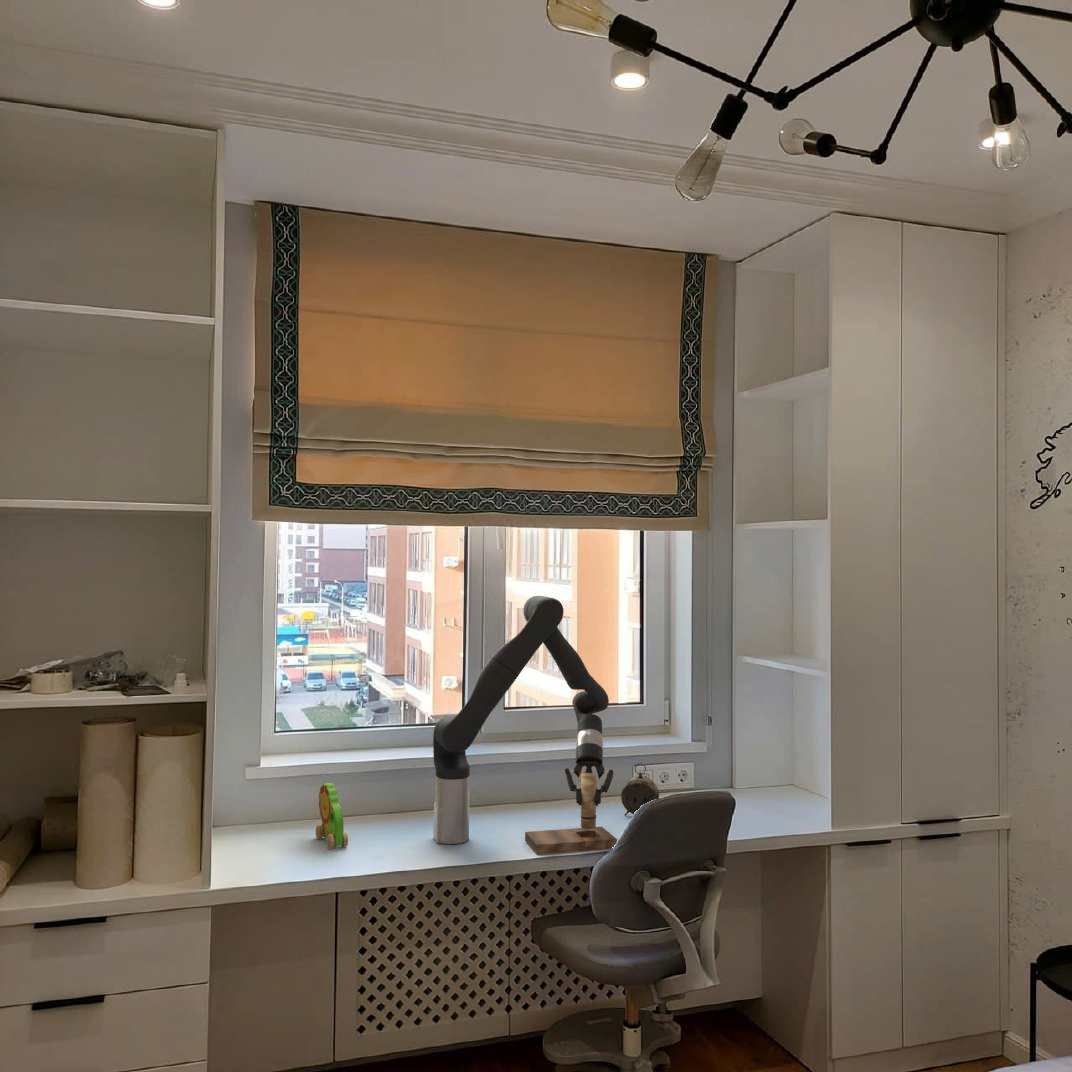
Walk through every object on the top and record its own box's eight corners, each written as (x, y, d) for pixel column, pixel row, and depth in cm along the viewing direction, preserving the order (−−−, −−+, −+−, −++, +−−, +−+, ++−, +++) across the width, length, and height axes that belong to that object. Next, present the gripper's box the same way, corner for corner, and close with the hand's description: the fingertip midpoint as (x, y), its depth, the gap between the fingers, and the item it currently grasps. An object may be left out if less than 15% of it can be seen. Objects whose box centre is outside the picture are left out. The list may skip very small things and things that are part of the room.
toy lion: (349, 848, 247) (350, 790, 247) (329, 851, 244) (330, 792, 245) (331, 833, 261) (332, 777, 261) (312, 835, 258) (312, 780, 259)
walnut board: (537, 854, 243) (537, 844, 243) (525, 841, 255) (525, 831, 255) (616, 848, 249) (616, 838, 249) (601, 835, 261) (601, 826, 261)
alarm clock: (659, 817, 280) (659, 762, 281) (656, 822, 275) (657, 766, 275) (622, 814, 283) (623, 760, 283) (619, 819, 278) (620, 763, 278)
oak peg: (583, 829, 251) (583, 776, 251) (578, 825, 255) (578, 773, 255) (598, 828, 252) (598, 776, 253) (593, 824, 256) (593, 772, 257)
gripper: (563, 741, 262) (561, 796, 250) (615, 742, 261) (615, 797, 249) (564, 756, 267) (562, 810, 255) (614, 757, 266) (614, 812, 254)
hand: (588, 803), depth 252 cm, fingers closed on oak peg, 4 cm apart
